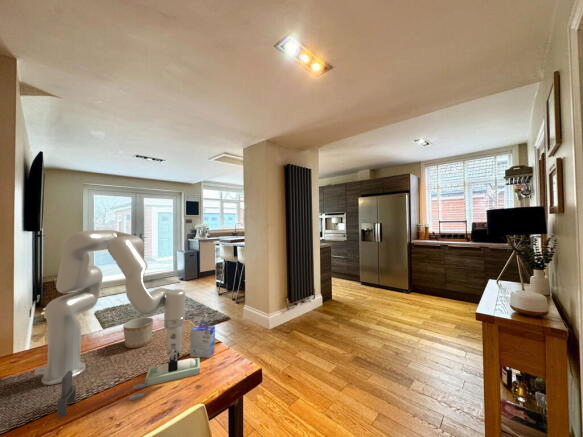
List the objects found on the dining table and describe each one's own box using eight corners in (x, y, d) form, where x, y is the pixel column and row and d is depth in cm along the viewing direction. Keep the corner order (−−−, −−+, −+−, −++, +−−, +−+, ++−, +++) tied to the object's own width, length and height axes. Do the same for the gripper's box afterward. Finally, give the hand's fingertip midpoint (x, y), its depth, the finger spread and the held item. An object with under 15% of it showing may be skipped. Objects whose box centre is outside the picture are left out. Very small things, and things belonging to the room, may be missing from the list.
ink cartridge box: (215, 351, 109) (215, 320, 110) (210, 358, 104) (210, 326, 104) (195, 350, 110) (196, 319, 111) (189, 357, 105) (189, 324, 105)
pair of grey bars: (129, 400, 79) (129, 398, 79) (134, 387, 85) (134, 385, 85) (143, 397, 81) (143, 394, 81) (146, 384, 87) (146, 382, 87)
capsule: (156, 379, 89) (156, 369, 89) (157, 372, 93) (157, 362, 93) (195, 370, 94) (195, 361, 94) (195, 364, 98) (195, 355, 98)
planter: (117, 346, 114) (117, 325, 114) (142, 335, 125) (142, 315, 125) (134, 352, 109) (134, 330, 109) (158, 339, 120) (158, 319, 121)
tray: (145, 386, 86) (145, 379, 86) (149, 373, 93) (149, 367, 93) (199, 373, 93) (199, 367, 93) (199, 362, 100) (199, 357, 101)
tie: (56, 417, 72) (57, 381, 72) (68, 402, 78) (68, 368, 78) (65, 415, 73) (65, 380, 73) (75, 400, 79) (76, 367, 79)
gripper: (183, 328, 87) (183, 374, 87) (185, 312, 103) (185, 350, 103) (161, 332, 84) (160, 379, 84) (166, 314, 100) (166, 354, 100)
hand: (174, 363), depth 93 cm, fingers open, 9 cm apart
